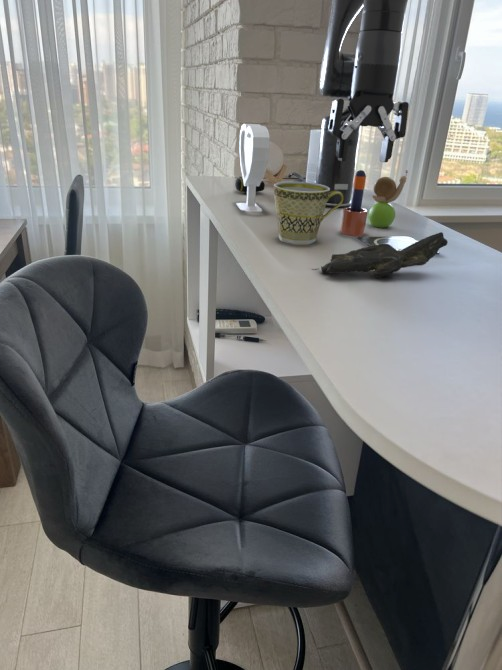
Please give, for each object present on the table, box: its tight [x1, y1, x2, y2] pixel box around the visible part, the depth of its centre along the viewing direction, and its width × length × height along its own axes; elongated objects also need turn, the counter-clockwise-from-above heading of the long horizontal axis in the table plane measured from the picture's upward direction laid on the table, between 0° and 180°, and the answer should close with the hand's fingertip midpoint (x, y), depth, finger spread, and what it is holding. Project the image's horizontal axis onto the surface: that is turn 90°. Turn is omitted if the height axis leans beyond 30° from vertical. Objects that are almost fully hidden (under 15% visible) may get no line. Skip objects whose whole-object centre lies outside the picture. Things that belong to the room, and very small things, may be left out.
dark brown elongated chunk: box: [320, 231, 449, 279], centre depth 78 cm, size 6×6×20 cm
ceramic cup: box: [273, 180, 343, 245], centre depth 92 cm, size 13×10×10 cm
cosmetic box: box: [305, 129, 321, 183], centre depth 145 cm, size 8×7×16 cm
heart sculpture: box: [235, 123, 271, 213], centre depth 113 cm, size 16×5×18 cm, turn 11°
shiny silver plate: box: [356, 235, 440, 255], centre depth 94 cm, size 11×11×1 cm
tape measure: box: [234, 176, 266, 195], centre depth 134 cm, size 7×7×4 cm
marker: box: [350, 169, 367, 212], centre depth 98 cm, size 2×2×12 cm
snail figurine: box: [367, 169, 409, 229], centre depth 104 cm, size 5×6×12 cm
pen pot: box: [340, 206, 369, 237], centre depth 99 cm, size 4×5×5 cm
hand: (362, 161), depth 94 cm, fingers open, 8 cm apart
